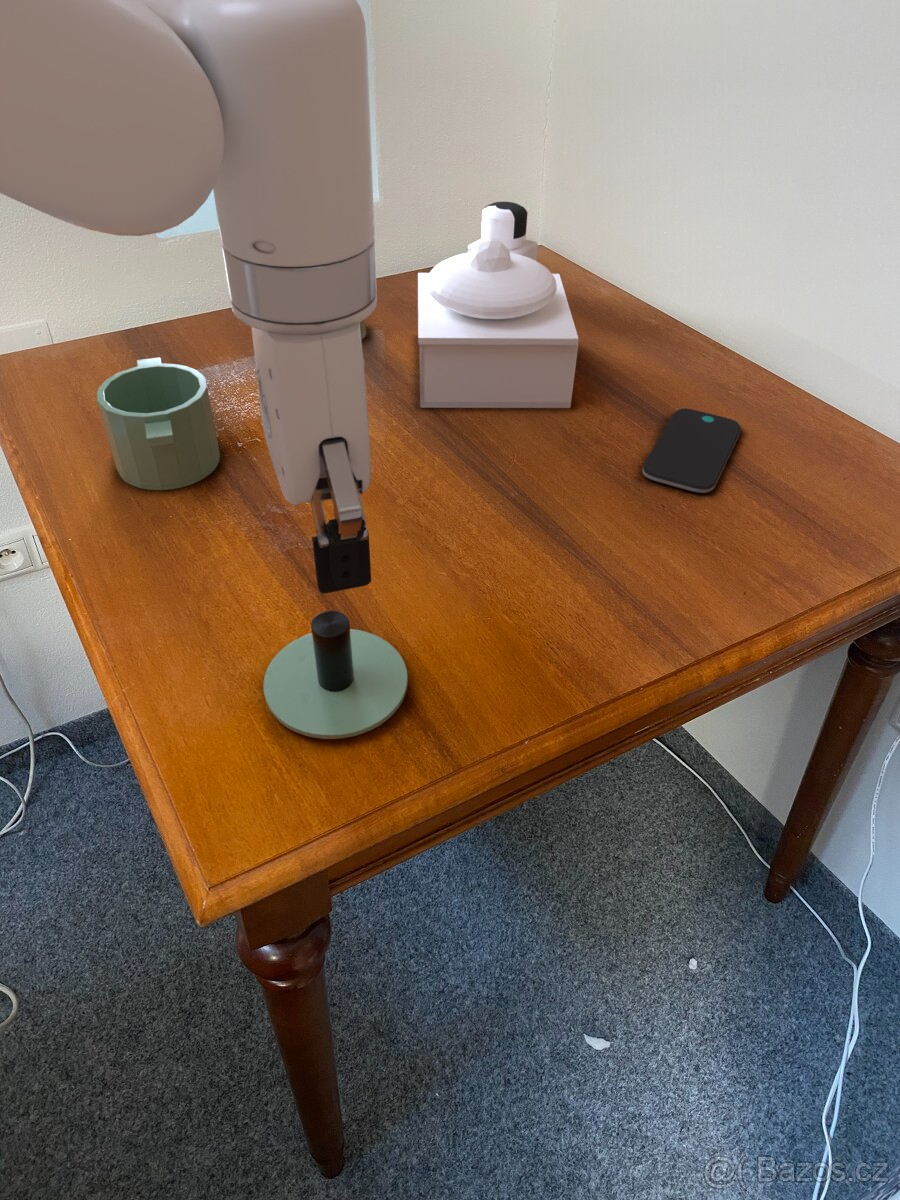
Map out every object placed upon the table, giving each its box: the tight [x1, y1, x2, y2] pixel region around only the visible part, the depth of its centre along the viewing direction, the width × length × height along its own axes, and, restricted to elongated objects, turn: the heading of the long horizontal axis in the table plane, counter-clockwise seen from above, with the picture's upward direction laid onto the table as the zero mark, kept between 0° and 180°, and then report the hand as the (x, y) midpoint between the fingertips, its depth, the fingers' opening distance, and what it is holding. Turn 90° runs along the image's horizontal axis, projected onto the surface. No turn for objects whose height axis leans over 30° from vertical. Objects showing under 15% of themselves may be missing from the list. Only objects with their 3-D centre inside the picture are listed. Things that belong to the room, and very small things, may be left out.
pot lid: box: [262, 610, 409, 740], centre depth 67 cm, size 11×11×7 cm
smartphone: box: [642, 407, 742, 495], centre depth 94 cm, size 8×1×15 cm
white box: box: [417, 239, 580, 409], centre depth 102 cm, size 18×18×16 cm
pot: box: [96, 356, 221, 491], centre depth 89 cm, size 10×16×8 cm, turn 18°
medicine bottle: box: [466, 201, 539, 261], centre depth 120 cm, size 7×7×12 cm
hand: (327, 537), depth 56 cm, fingers open, 9 cm apart
